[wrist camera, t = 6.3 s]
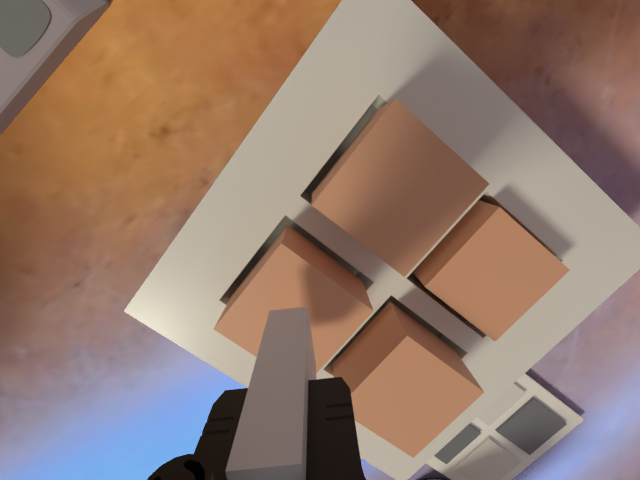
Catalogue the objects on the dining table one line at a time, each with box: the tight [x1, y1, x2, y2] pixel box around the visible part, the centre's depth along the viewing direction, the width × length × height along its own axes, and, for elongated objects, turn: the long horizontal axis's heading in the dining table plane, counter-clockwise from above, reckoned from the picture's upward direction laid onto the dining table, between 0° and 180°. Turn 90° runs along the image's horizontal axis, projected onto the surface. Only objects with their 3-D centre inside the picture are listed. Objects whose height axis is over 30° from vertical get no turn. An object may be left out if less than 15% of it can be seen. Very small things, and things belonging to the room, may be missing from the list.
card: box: [426, 373, 584, 480], centre depth 24 cm, size 10×10×1 cm
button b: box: [333, 302, 484, 458], centre depth 17 cm, size 5×5×3 cm
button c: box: [312, 99, 489, 277], centre depth 15 cm, size 5×5×3 cm
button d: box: [214, 224, 373, 373], centre depth 16 cm, size 5×5×3 cm
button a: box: [413, 200, 570, 341], centre depth 18 cm, size 5×5×3 cm
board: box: [124, 0, 640, 480], centre depth 19 cm, size 20×20×4 cm
